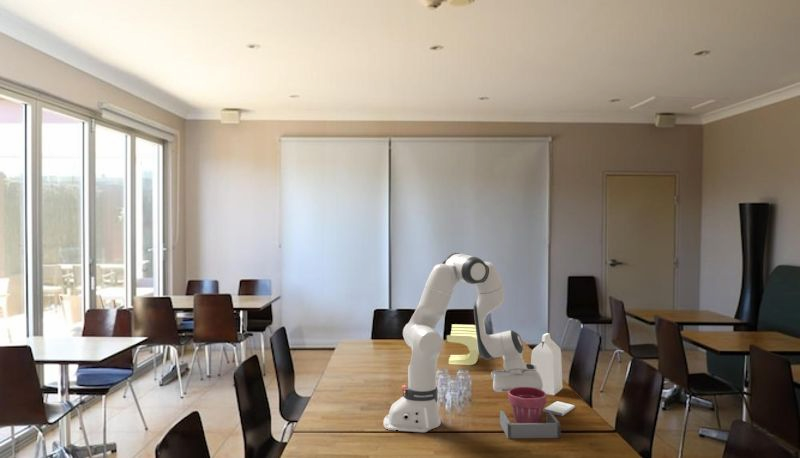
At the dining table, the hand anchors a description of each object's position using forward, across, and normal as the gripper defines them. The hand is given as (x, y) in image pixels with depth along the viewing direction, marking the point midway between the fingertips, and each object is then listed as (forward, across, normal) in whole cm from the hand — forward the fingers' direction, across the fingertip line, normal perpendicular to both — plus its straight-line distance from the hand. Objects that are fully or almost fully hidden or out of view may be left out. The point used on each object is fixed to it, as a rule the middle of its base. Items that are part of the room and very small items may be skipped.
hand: (520, 400), depth 213 cm
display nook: (+15, 0, -6) cm, 16 cm away
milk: (-18, +20, +28) cm, 39 cm away
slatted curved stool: (-54, -13, +63) cm, 84 cm away
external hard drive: (0, +18, +10) cm, 20 cm away
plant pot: (+11, 0, -2) cm, 12 cm away
